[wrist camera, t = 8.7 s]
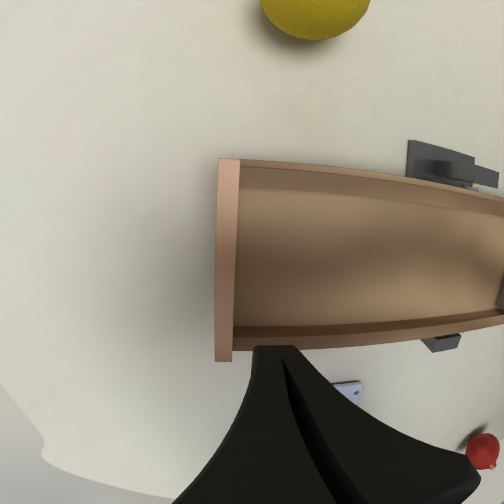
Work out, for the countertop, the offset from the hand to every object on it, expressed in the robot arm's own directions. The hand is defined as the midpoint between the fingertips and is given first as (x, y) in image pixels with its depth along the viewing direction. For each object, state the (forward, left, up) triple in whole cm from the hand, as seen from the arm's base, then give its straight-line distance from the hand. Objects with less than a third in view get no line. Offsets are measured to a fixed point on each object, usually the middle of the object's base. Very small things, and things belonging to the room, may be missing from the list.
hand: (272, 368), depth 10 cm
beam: (+2, -11, -7) cm, 13 cm away
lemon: (+16, -2, -10) cm, 19 cm away
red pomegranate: (-28, -36, -10) cm, 47 cm away
